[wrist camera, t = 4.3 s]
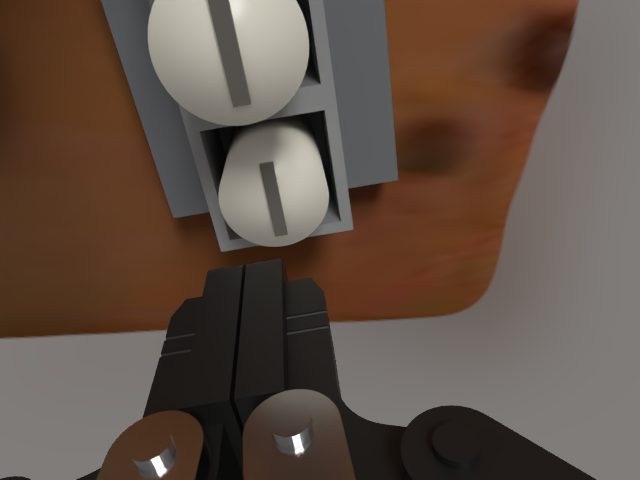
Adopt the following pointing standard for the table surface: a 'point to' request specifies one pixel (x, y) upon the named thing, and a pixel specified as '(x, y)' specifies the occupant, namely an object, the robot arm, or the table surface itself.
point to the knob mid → (229, 56)
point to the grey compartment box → (310, 101)
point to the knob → (274, 182)
